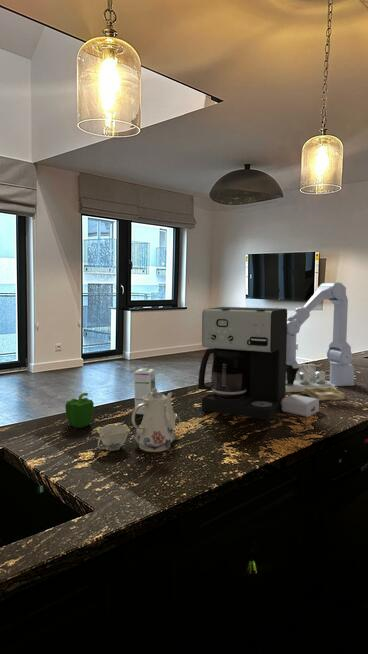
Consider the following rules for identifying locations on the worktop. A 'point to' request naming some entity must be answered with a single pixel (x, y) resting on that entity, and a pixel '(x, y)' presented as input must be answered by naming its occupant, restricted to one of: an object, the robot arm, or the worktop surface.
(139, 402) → the syrup box
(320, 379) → the cylinder
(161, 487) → the worktop surface
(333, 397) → the tray
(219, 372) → the coffee maker
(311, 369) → the scale
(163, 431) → the chinaware
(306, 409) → the charger
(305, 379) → the spacer
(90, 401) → the bell pepper
